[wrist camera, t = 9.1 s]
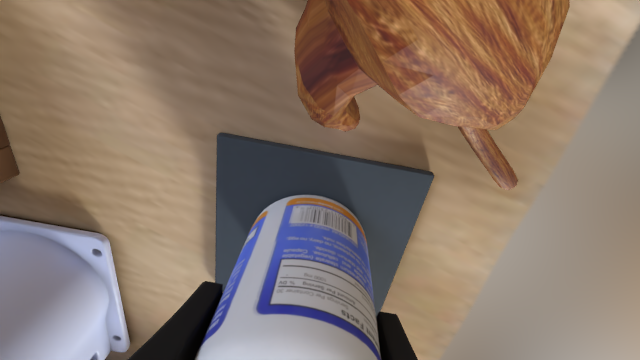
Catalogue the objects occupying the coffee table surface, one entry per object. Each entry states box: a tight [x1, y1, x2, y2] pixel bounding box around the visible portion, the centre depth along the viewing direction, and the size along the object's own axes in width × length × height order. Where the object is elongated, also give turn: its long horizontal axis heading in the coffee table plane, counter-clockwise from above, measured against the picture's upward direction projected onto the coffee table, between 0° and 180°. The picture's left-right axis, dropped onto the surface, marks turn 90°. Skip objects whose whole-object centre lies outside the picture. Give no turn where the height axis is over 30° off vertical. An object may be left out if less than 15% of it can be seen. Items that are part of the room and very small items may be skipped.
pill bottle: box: [195, 195, 381, 360], centre depth 10 cm, size 5×5×10 cm
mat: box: [215, 133, 434, 318], centre depth 15 cm, size 9×9×1 cm
